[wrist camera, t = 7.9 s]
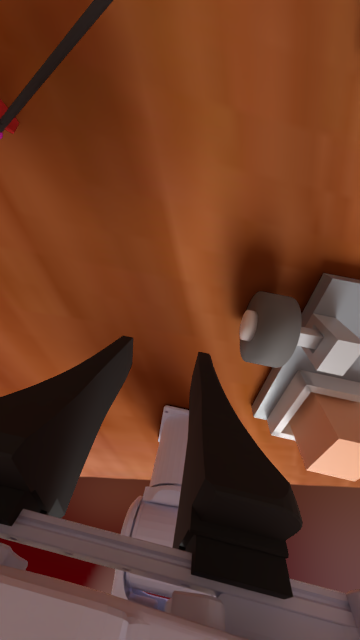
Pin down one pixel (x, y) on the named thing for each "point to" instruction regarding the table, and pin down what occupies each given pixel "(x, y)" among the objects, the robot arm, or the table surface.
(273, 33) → the table surface
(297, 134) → the table surface
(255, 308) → the wheel
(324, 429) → the tan rectangular block
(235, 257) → the table surface
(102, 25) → the table surface
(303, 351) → the chassis
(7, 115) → the glasses
